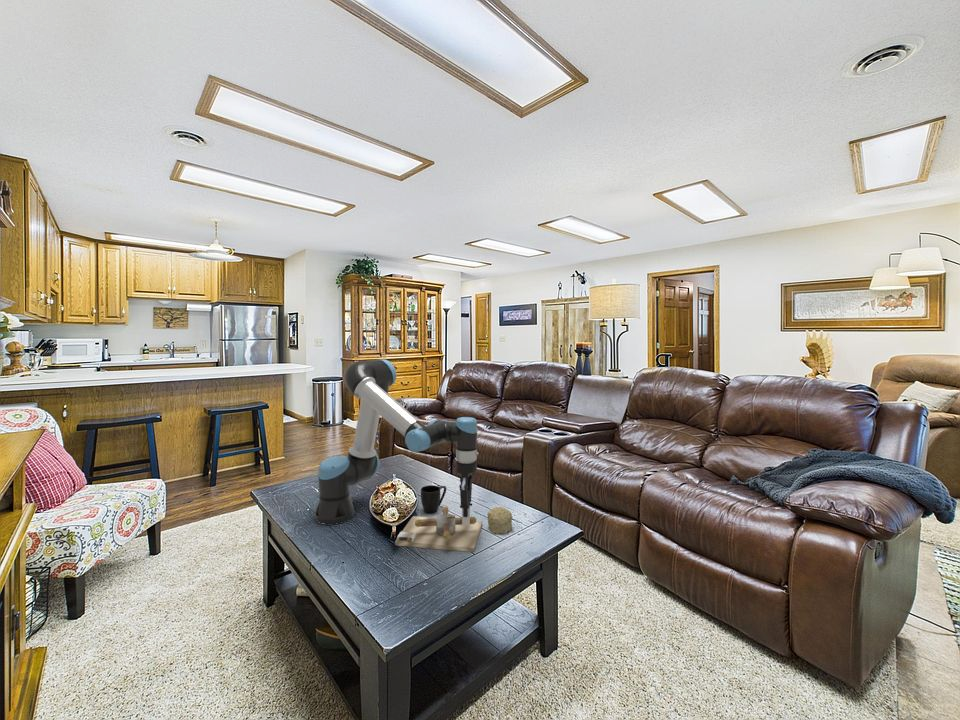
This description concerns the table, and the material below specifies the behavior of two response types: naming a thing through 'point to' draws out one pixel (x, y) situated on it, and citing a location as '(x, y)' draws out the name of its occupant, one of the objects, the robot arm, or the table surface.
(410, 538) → the stand
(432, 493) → the mug
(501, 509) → the decorative object
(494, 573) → the table surface
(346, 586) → the table surface
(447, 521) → the capstan
